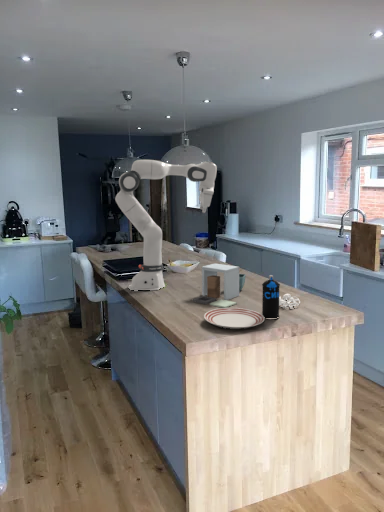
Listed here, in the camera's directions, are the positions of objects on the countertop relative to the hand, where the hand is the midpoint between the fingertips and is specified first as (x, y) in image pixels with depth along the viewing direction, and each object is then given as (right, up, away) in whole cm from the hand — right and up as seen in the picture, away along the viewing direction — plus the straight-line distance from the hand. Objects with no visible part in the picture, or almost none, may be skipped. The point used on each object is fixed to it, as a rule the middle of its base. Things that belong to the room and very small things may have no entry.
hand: (202, 210), depth 266 cm
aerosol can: (+30, -57, -62) cm, 90 cm away
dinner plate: (+13, -58, -69) cm, 91 cm away
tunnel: (+10, -50, -23) cm, 56 cm away
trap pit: (0, -52, -33) cm, 62 cm away
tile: (+10, -53, -40) cm, 67 cm away
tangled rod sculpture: (+43, -53, -41) cm, 79 cm away
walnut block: (+6, -51, -27) cm, 58 cm away
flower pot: (+20, -48, -11) cm, 53 cm away
